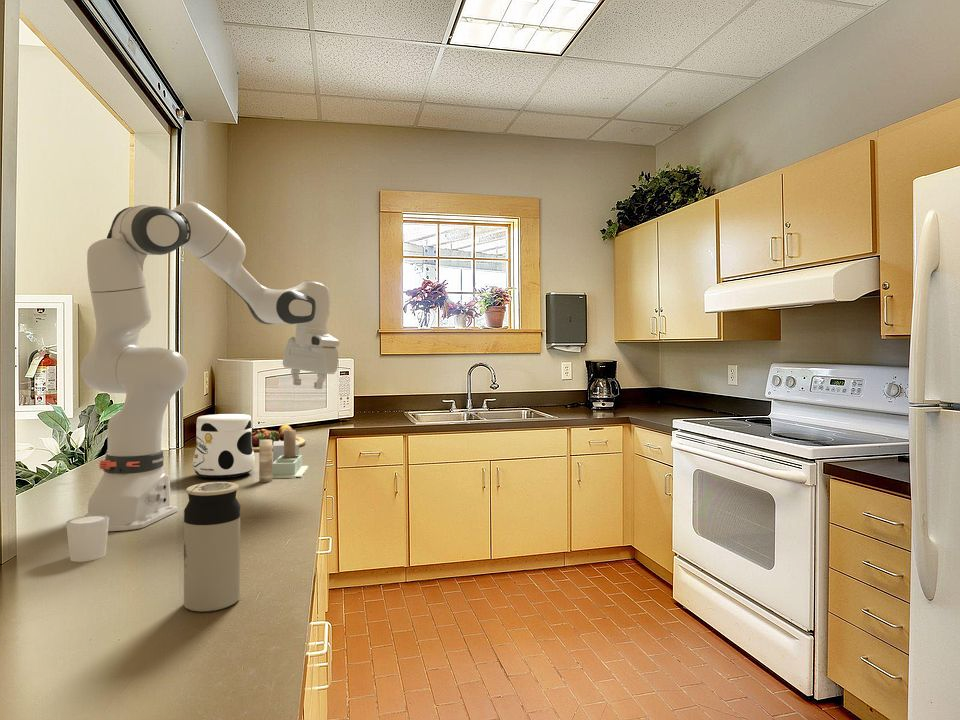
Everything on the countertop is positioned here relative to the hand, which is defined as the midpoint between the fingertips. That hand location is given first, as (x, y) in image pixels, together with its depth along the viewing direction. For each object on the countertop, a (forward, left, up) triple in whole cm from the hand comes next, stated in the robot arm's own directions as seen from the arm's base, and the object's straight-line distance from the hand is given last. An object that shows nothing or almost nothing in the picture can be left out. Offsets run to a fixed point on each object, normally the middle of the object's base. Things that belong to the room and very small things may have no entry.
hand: (307, 386), depth 178 cm
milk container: (+14, +26, -28) cm, 41 cm away
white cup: (-59, +31, -28) cm, 72 cm away
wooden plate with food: (+72, +27, -29) cm, 82 cm away
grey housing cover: (+32, +11, -28) cm, 44 cm away
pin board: (+17, +8, -28) cm, 34 cm away
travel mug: (-83, +2, -28) cm, 87 cm away
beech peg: (+5, +12, -28) cm, 31 cm away
